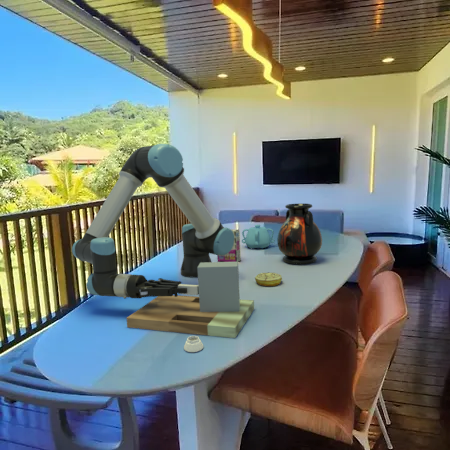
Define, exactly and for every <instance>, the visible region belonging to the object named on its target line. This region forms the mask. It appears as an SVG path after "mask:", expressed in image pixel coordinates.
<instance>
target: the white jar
mask: <svg viewBox="0 0 450 450" xmlns="http://www.w3.org/2000/svg"><path fill="white" fill-rule="evenodd" d="M203 349H204V343H203V341H202V340H201V339H200V337H199V336H197V335H190V336H188V337H187V339H186V340H185V343H184V345H183V350H184V351H185V352H188V353H196V352H200V351H202V350H203Z"/></svg>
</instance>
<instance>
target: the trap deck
mask: <svg viewBox="0 0 450 450" xmlns="http://www.w3.org/2000/svg"><path fill="white" fill-rule="evenodd" d="M177 295H178V296H177V297H175V295H174V294H173V296H156V297H155V298H153V299H152V300H150V301H149V302H148V303H145V305H143V306H141V307H140V308H138V309H137V310H136V311H135V312H133V313H131V314H130V315H129V316H127V317H126V328H129V329H138V328H139V329H140V330H152V331H157V332H158V331H160V332H169V333H170V332H171V333H180V334H181V333H182V334H188V335H189V334H190V335H201V336H208V337H209V336H211V337H221V338H230V339H236V338H237V336H238V335H239V333H240V332H241V330H242V329H243V327H244V326H245V324H246V323H247V321H248V320H249V318H250V316H251V315H252V314H253V312H254V310H255V300H252V299H242V298H241V299H240V308H239V311H232V312H200V304H199V296H196V295H181V294H177Z"/></svg>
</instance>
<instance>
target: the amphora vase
mask: <svg viewBox="0 0 450 450" xmlns="http://www.w3.org/2000/svg"><path fill="white" fill-rule="evenodd" d="M284 207H285V209H287V210H286V213H285V221H284V222H283V223H282V224H281V226H280V228H279V230H278V233H277V247H278V249H279V251H280V252H281V253H282V254H283V255H284V256H283V257H282V260H283V262H285V263H287V264H289V265H301V266H302V265H310V264H313V263H315V262H317V260H318V258H317V256H316V255H317V254H318V253H319V251H320V250H321V249H322V245H323V238H322V233H321V230H320V228H319V226H318V225H317V223H315V220H314V216H313V213H312V212H311V211H310V210H309V209H312V208H313V205H312V204H311V203H289V204H286V205H285V206H284Z"/></svg>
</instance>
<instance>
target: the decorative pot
mask: <svg viewBox="0 0 450 450" xmlns="http://www.w3.org/2000/svg"><path fill="white" fill-rule="evenodd" d="M269 231H270V232H271V235H270V232H269ZM245 232H247V233H246V235H245ZM274 233H275V232H274V230H273V229H272V228H267V227H264V226H261V225H260V224H254V227H253V226H252V227H249V228H245V229H243V230H242V232H241V234H242V240H241V243H243V244H245V245H246V246H247V247H248V248H255V249H256V248H257V249H258V248H259V249H261V248H265V249H266V248H268V247H269V246H270V245H271V244H274V243H275V238H274Z"/></svg>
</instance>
